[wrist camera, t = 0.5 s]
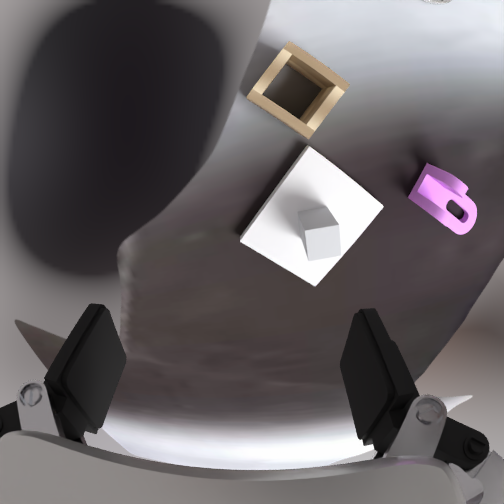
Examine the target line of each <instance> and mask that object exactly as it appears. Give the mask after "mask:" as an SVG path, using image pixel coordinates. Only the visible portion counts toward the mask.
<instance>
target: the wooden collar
mask: <svg viewBox="0 0 504 504" xmlns="http://www.w3.org/2000/svg"><path fill="white" fill-rule="evenodd" d="M285 64H287V65H288V66H290V67H291V68H293V69H294V70H296V71H297V72H299V73H300V74H302V75H303V76H304V77H306V78H307V79H309V80H310V81H312V82H313V83H314V84H316V85H317V86H318V87H320V88H321V89H322V90H321V91H320V92H319V94H318V95H317V96H316V98H315V99H314V100H313V102H312V103H311V104H310V106H309V107H308V108H307V110H306V111H305V112H304V114H303V115H302V116H301V118H300V119H297V118H296V117H295V116H293V115H292V114H290V113H289V112H287V111H286V110H284V109H283V108H281V107H280V106H278V105H277V104H275V103H274V102H272V101H271V100H269V99H268V98H266V97H265V96H263V95H262V94H263V93H264V92H265V90H266V89H267V88H268V86H269V85H270V83H271V82H272V81H273V79H274V78H275V77H276V76H277V74H278V73H279V72H280V70H281V69H282V68H283V66H284V65H285ZM349 85H350V84H349V83H348V82H346V81H345V80H344V79H343V78H341V77H340V76H339V75H337V74H336V73H335V72H333V71H332V70H331V69H329V68H328V67H327V66H325V65H324V64H323V63H321V62H320V61H318V60H317V59H316V58H314V57H313V56H311V55H310V54H308V53H307V52H305V51H304V50H302V49H301V48H299V47H298V46H296V45H295V44H293V43H292V42H290V41H289V42H288V43H287V44H286V45H285V47H284V48H283V49H282V50H281V52H280V53H279V54H278V56H277V57H276V58H275V59H274V61H273V62H272V63H271V65H270V66H269V67H268V68H267V70H266V71H265V72H264V74H263V75H262V76H261V78H260V79H259V80H258V82H257V83H256V85H255V86H254V87H253V89H252V90H251V91H250V93H249V94H248V96H247V97H246V98H247V99H248V100H249V101H251V102H252V103H254V104H255V105H257V106H259V107H260V108H262V109H263V110H265V111H266V112H268V113H269V114H271V115H272V116H274V117H275V118H277V119H278V120H280V121H281V122H283V123H284V124H286V125H287V126H289V127H290V128H292V129H293V130H294V131H296V132H297V133H299V134H300V135H302V136H304V137H306V138H307V139H309V138H310V137H311V135H312V134H313V133H314V131H315V130H316V129H317V127H318V126H319V125H320V124H321V122H322V121H323V120H324V118H325V117H326V116H327V114H328V113H329V112H330V110H331V109H332V108H333V106H334V105H335V104H336V102H337V101H338V100H339V98H340V97H341V96H342V95H343V93H344V92H345V91H346V89H347V88H348V87H349Z"/></svg>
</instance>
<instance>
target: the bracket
mask: <svg viewBox="0 0 504 504" xmlns="http://www.w3.org/2000/svg"><path fill="white" fill-rule="evenodd" d="M467 190H468V187H467V186H466V185H465V184H464V183H463V182H461V181H460V180H459V179H458V178H456V177H455V176H453V175H452V174H450V173H448V172H446V171H444V170H442V169H439V168H437V167H435V166H433V165H430V164H428V163H427V164H426V166H425V167H424V169H423V171H422V173H421V175H420V177H419V179H418V180H417V182H416V184H415V186H414V188H413V189H412V191H411V193H410V195H409V196H408V198H409V199H410V200H412V201H413V202H414V203H416V204H417V205H419V206H420V207H421V208H423V209H424V210H425V211H427V212H428V213H429V214H431V215H432V216H433V217H435V218H436V219H437V220H439V221H440V222H441V223H443V224H444V225H445V226H447V227H449V228H450V229H451V230H452V231H454V232H455V233H456V234H465V233H467V232H468V231H469V230H470V229H471V228H472V227H473V225H474V223H475V221H476V217H477V209H476V205H475V204H474V202H473V201H472V200H471V199H470V198H469V197H468V196H466V195H465V193H466V191H467ZM451 199H452V200H453V201H454V202H455V203H456V204H458V205H459V206H460V207H461V208H462V209H463V210H464V216H463V218H462V219H460V220H458V219H457V218H456V217H454V216H453V215H452V214H451V213H449V212H448V211H447V209H446V204H447V202H448V201H449V200H451Z"/></svg>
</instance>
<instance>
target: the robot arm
mask: <svg viewBox="0 0 504 504" xmlns="http://www.w3.org/2000/svg"><path fill="white" fill-rule="evenodd" d="M423 1H425V2H428V3H432V4H445V3H448V2H450V1H452V0H423ZM125 364H126V354H125V352H124V349H123V347H122V344H121V342H120V339H119V336H118V334H117V331H116V329H115V326H114V323H113V320H112V317H111V314H110V311H109V310H108V309H107V308H106V307H105V306H104V305H102V304H89V306H88V307H87V308H86V310H85V312H84V313H83V314H82V316H81V317H80V319H79V321H78V322H77V324H76V325H75V327H74V328H73V330H72V331H71V333H70V335H69V336H68V338H67V339H66V341H65V343H64V344H63V346H62V348H61V349H60V351H59V353H58V354H57V356H56V358H55V359H54V361H53V363H52V365H51V366H50V368H49V370H48V372H47V374H46V376H45V377H44V379H45V381H44V383H42V382H41V381H39V380H30V381H28V382H26V383H24V384H23V385H22V386H21V387H20V389H19V390H18V393H17V401H15V402H13V403H10V404H8V405H6V406H4V407H1V408H0V504H504V459H503V458H502V457H501V456H500V455H498V454H497V453H496V452H495V451H492V452H490V451H489V442H488V440H487V438H486V437H485V435H484V434H482V433H481V432H479V431H477V430H474V429H472V428H470V427H468V426H466V425H464V424H462V423H459V422H457V421H455V420H453V419H451V418H449V417H447V409H446V406H445V405H444V403H443V402H442V401H441V400H440V399H439V398H437V397H435V396H433V395H421V396H420V395H419V393H418V391H417V388H416V386H415V384H414V381H413V379H412V377H411V375H410V372H409V370H408V368H407V366H406V364H405V362H404V359H403V357H402V355H401V353H400V351H399V349H398V347H397V345H396V343H395V342H394V341H393V340H391V339H390V337H389V335H388V333H387V331H386V329H385V327H384V325H383V323H382V321H381V319H380V317H379V315H378V313H377V311H376V309H374V308H370V309H360V310H359V312H358V313H355V314H354V317H353V320H352V324H351V328H350V331H349V335H348V338H347V341H346V345H345V348H344V351H343V354H342V358H341V361H340V368H341V373H342V376H343V380H344V384H345V388H346V392H347V395H348V399H349V403H350V407H351V411H352V416H353V420H354V424H355V428H356V432H357V436H358V439H359V440H361V439H362V440H363V445H364V446H365V445H370V444H373V445H374V449H375V450H376V452H375V454H374V455H373V457H372V459H371V460H365V461H360V462H353V463H347V464H340V465H331V466H322V467H313V468H301V469H285V470H227V469H211V468H200V467H190V466H182V465H174V464H168V463H161V462H155V461H149V460H144V459H139V458H135V457H130V456H125V455H121V454H117V453H113V452H109V451H106V450H102V449H98V448H94V447H91V446H88V445H87V444H86V441H85V439H84V436H83V435H84V432H85V431H87V432H90V433H94V434H97V431H98V428H101V427H102V426H103V423H104V420H105V417H106V414H107V412H108V409H109V406H110V403H111V401H112V398H113V395H114V392H115V390H116V387H117V385H118V382H119V379H120V377H121V374H122V372H123V369H124V367H125Z"/></svg>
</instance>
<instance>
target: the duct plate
mask: <svg viewBox="0 0 504 504" xmlns="http://www.w3.org/2000/svg"><path fill="white" fill-rule="evenodd" d="M383 207H384V206H383V205H382V204H380V203H379V202H378V201H377V200H376V199H375V198H374V197H372V196H371V195H370V194H369V193H368V192H367V191H365V190H364V189H363V188H362V187H361V186H360V185H358V184H357V183H356V182H355V181H353V180H352V179H351V178H350V177H349V176H347V175H346V174H345V173H344V172H342V171H341V170H340V169H339V168H337V167H336V166H335V165H333V164H332V163H331V162H330V161H328V160H327V159H326V158H324V157H323V156H322V155H320V154H319V153H318V152H316V151H315V150H314V149H312V148H311V147H310V146H308V145H307V146H306V147H305V149H304V150H303V151H302V153H301V154H300V155H299V157H298V158H297V159H296V161H295V162H294V163H293V165H292V166H291V167H290V169H289V170H288V171H287V173H286V174H285V176H284V177H283V178H282V180H281V181H280V182H279V184H278V185H277V186H276V188H275V189H274V191H273V192H272V193H271V195H270V196H269V197H268V199H267V200H266V201H265V203H264V204H263V206H262V207H261V208H260V210H259V211H258V213H257V214H256V215H255V217H254V218H253V219H252V221H251V222H250V224H249V225H248V226H247V228H246V229H245V231H244V232H243V233H242V235H241V236H240V242H242V243H243V244H245V245H247V246H249V247H250V248H252V249H254V250H255V251H257V252H259V253H260V254H262V255H264V256H265V257H267V258H269V259H270V260H272V261H274V262H275V263H277V264H279V265H280V266H282V267H284V268H285V269H287V270H289V271H290V272H292V273H294V274H295V275H297V276H299V277H300V278H302V279H304V280H305V281H307V282H309V283H310V284H312V285H314V286H316V285H317V284H318V283H319V282H320V281H321V279H322V278H323V277H324V276H325V275H326V274H327V273H328V272H329V271H330V269H331V268H332V267H333V266H334V265H335V264H336V263H337V261H338V260H339V259H340V258H341V257H342V256H343V255H344V253H345V252H346V251H347V250H348V249H349V248H350V247H351V245H352V244H353V243H354V242H355V241H356V240H357V238H358V237H359V236H360V235H361V234H362V232H363V231H364V230H365V229H366V228H367V226H368V225H369V224H370V223H371V222H372V220H373V219H374V218H375V217H376V215H377V214H378V213H379V212H380V211H381V209H382V208H383Z"/></svg>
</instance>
